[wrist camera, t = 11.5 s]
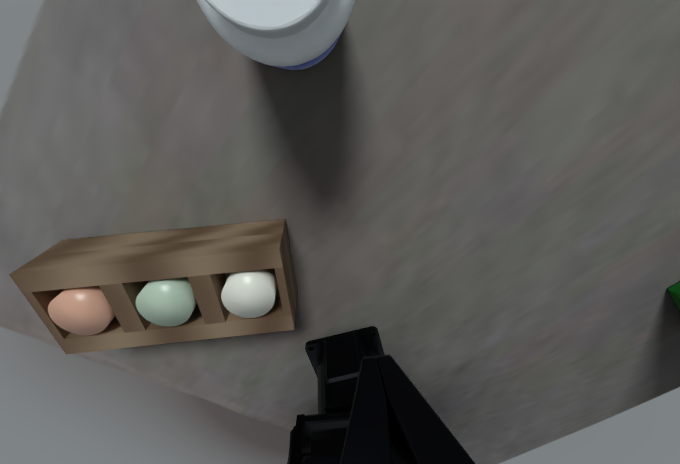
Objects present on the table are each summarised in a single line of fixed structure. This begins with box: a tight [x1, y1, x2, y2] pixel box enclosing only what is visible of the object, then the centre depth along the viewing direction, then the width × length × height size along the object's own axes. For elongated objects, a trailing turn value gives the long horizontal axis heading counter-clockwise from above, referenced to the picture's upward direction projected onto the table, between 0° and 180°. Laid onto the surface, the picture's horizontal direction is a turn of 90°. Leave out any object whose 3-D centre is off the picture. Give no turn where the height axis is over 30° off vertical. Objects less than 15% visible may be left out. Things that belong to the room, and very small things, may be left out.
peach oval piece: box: [48, 286, 115, 335], centre depth 19 cm, size 3×3×2 cm
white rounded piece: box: [221, 268, 277, 318], centre depth 19 cm, size 3×3×2 cm
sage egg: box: [136, 277, 197, 327], centre depth 19 cm, size 3×3×2 cm
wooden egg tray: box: [10, 219, 297, 354], centre depth 20 cm, size 15×6×4 cm, turn 94°
